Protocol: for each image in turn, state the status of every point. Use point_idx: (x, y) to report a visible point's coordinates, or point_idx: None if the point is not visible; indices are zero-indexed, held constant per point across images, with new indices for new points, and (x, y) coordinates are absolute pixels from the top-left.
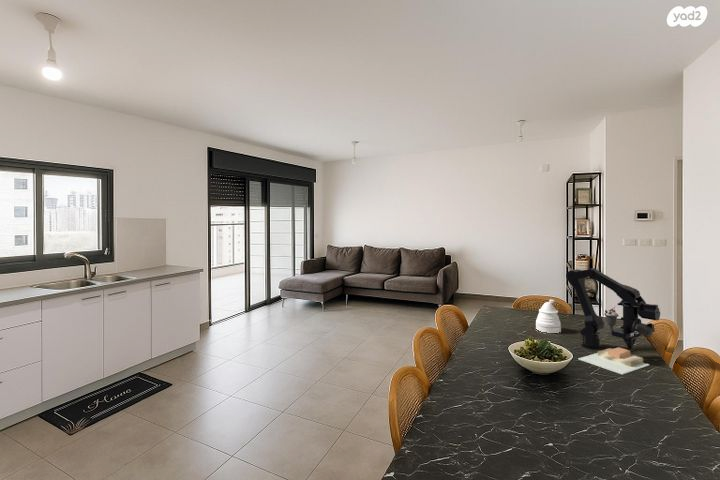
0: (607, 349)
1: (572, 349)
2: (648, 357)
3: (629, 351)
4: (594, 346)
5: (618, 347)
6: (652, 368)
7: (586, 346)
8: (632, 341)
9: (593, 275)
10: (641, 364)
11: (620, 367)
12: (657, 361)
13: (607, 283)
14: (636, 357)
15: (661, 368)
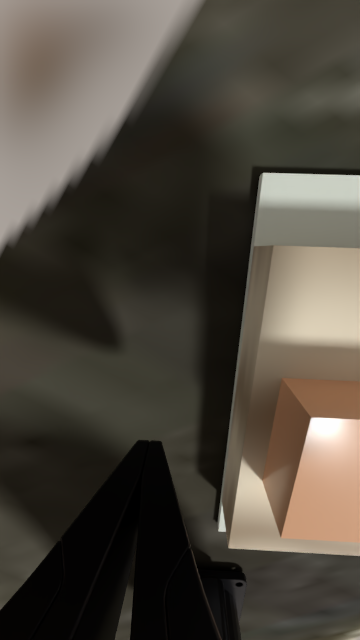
0: (284, 544)
1: (339, 616)
2: (36, 300)
3: (328, 412)
4: (223, 595)
5: (288, 536)
6: (333, 101)
7: (239, 608)
8: (160, 611)
9: None
10: (331, 223)
11: None
12: (61, 192)
13: None
14: (320, 299)
15: (249, 31)
